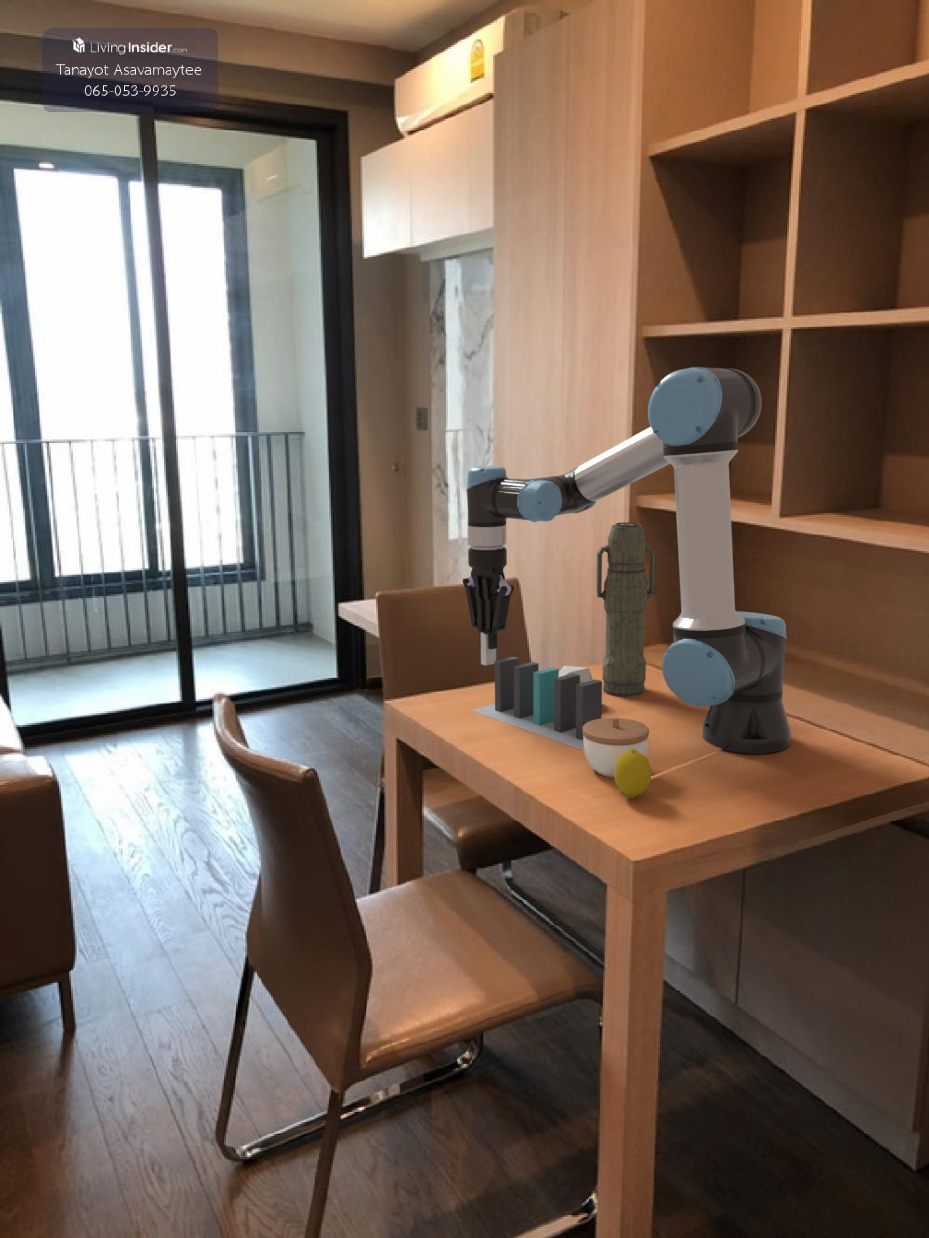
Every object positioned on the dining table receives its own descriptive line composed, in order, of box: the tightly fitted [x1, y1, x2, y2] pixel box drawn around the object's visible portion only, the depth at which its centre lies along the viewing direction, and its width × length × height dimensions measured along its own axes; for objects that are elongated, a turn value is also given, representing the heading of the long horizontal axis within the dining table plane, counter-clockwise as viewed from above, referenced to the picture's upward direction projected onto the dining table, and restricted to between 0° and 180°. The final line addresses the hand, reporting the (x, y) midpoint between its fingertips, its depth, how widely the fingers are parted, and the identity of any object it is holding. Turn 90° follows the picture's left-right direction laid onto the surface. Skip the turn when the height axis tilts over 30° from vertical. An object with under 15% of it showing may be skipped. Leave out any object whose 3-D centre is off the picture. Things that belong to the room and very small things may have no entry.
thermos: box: [595, 521, 657, 698], centre depth 207 cm, size 9×12×35 cm
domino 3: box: [554, 673, 580, 733], centre depth 185 cm, size 2×5×10 cm, turn 130°
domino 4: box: [576, 679, 603, 740], centre depth 181 cm, size 2×5×10 cm, turn 130°
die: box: [559, 665, 594, 683], centre depth 200 cm, size 8×9×10 cm
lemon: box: [614, 749, 652, 799], centre depth 154 cm, size 6×6×8 cm
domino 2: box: [514, 661, 540, 719], centre depth 193 cm, size 2×5×10 cm, turn 129°
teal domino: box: [533, 667, 560, 725], centre depth 189 cm, size 2×5×10 cm, turn 129°
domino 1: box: [494, 656, 520, 712], centre depth 198 cm, size 2×5×10 cm, turn 130°
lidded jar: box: [582, 717, 650, 778], centre depth 165 cm, size 11×11×9 cm
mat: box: [470, 703, 584, 750], centre depth 190 cm, size 30×12×1 cm, turn 40°
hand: (488, 663), depth 201 cm, fingers closed
